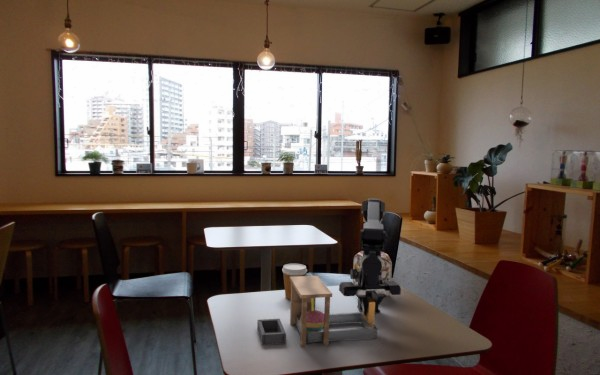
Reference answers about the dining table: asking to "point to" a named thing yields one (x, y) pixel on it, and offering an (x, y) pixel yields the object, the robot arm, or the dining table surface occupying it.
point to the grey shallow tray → (346, 334)
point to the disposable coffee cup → (292, 271)
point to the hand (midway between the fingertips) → (368, 314)
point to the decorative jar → (385, 269)
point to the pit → (271, 331)
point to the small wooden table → (308, 302)
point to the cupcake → (314, 319)
